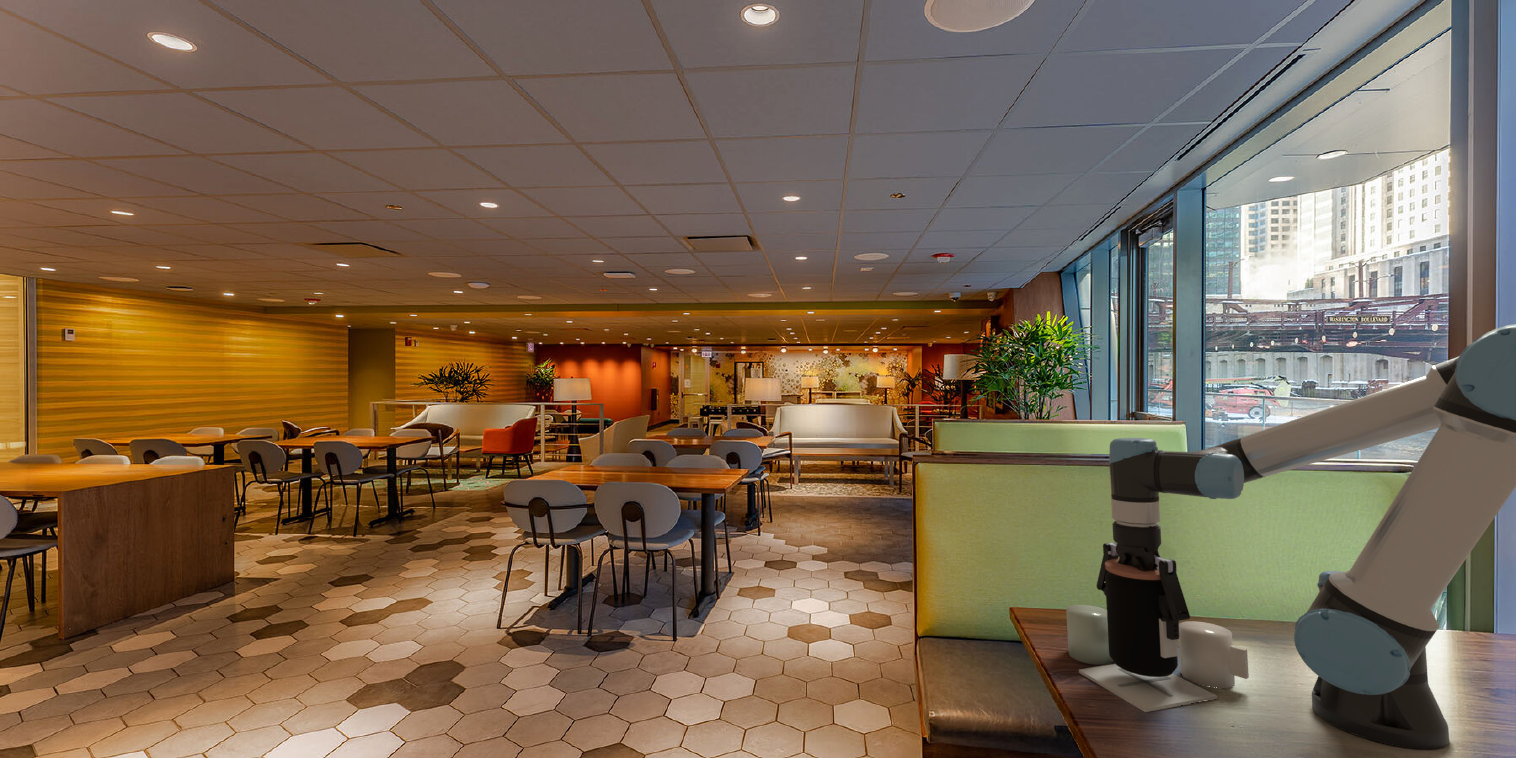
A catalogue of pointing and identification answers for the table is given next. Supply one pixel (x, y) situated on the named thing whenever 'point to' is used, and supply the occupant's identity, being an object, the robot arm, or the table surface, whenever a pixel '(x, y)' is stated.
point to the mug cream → (1210, 655)
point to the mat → (1147, 688)
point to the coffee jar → (1135, 620)
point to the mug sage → (1088, 634)
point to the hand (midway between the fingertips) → (1141, 643)
